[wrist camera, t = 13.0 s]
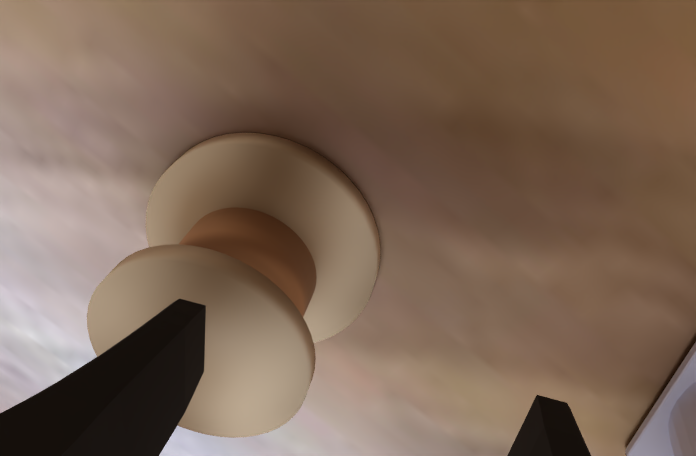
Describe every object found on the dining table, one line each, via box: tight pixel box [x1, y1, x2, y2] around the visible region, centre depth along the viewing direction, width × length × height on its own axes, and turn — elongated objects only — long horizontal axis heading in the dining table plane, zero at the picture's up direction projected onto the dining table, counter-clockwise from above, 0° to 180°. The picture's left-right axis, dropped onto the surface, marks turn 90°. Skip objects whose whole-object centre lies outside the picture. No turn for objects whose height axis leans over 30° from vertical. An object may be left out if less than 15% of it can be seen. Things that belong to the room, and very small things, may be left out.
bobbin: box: [87, 133, 380, 437], centre depth 21 cm, size 9×9×6 cm
